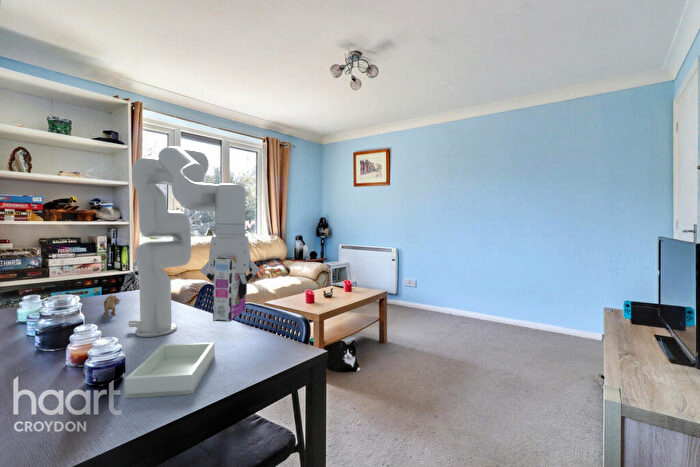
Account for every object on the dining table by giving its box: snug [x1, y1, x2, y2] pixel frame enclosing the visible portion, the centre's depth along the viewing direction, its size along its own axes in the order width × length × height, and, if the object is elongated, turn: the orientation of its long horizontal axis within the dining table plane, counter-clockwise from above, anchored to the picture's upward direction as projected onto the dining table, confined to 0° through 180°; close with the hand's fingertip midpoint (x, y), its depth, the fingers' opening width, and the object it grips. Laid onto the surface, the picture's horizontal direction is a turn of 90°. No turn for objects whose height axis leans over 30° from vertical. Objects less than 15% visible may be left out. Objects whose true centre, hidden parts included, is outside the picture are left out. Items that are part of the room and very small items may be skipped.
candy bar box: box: [212, 257, 246, 323], centre depth 90 cm, size 11×5×16 cm, turn 178°
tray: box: [124, 341, 216, 399], centre depth 85 cm, size 14×20×4 cm
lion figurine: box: [103, 294, 121, 318], centre depth 138 cm, size 15×5×9 cm, turn 44°
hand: (230, 297), depth 90 cm, fingers closed on candy bar box, 5 cm apart
